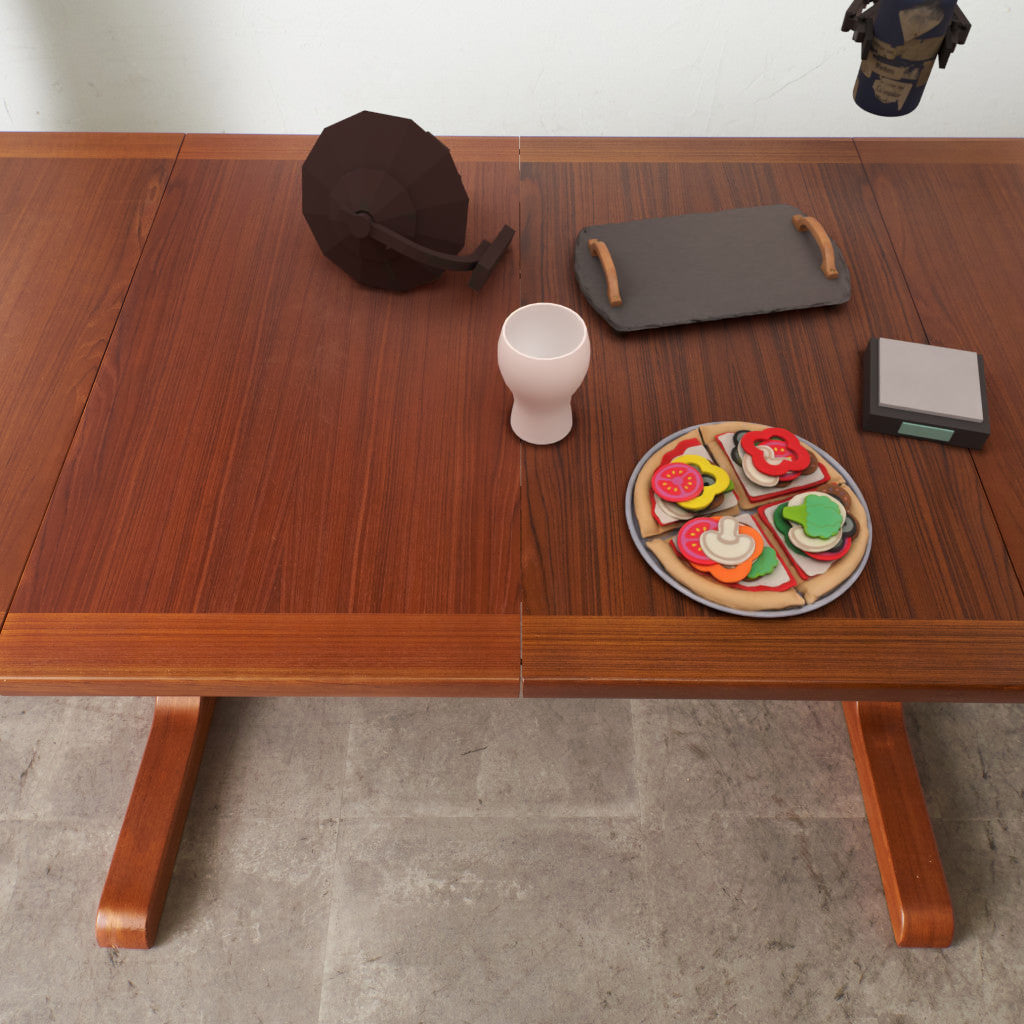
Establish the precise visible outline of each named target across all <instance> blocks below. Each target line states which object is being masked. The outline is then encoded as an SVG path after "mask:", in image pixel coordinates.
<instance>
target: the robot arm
mask: <svg viewBox="0 0 1024 1024" xmlns="http://www.w3.org/2000/svg"><path fill="white" fill-rule="evenodd" d="M880 1H881V0H852V2H851V3H850V5H849V6H848V7H847V9H846V10H845V13H844V17H843V20H842V23H841V27H840V31H841V32H842V33H849V32H850V31H852V32H853V33H852V37H851V40H852V41H854V42H855V43H858V44H860V61H862V60H867V57H868V54H869V51H870V48H871V44H872V41H873V24H874V21H875V17H876V14H877V11H878V8H879V4H880ZM870 3H872V4H873V5H872V6H870V7H868V5H870ZM867 7H868V8H867ZM972 27H973V26H972V23H971V22H970V20H969V19H968V17H967V16H966V15H965V13H964V11H962V9H961V7H960V6H959V5H958V3H957V4H956V7H955V10H954V12H953V15H952V17H951V20H950V23H949V25H948V28H947V31H946V34H945V37H944V39H943V42H942V45H941V48H940V50H939V53H938V55H937V59H938V69H940V70H941V69H942V70H945V69H946V67H947V65H948V62H949V59H950V56H951V54H953V53H954V52H955V50H956V48H957V45H959V46H963V45H965V44H966V42H967V39H968V36H969V34H970V32H971V29H972Z"/></svg>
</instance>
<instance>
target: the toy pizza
mask: <svg viewBox="0 0 1024 1024" xmlns="http://www.w3.org/2000/svg"><path fill="white" fill-rule="evenodd" d="M624 502H625V503H624V508H625V509H624V510H625V520H626V523H627V527H628V531H629V530H630V531H629V533H630V536H631V539H632V540H633V541H632V542H633V543H634V545H635V547H636V548H637V550H638V552H639V554H640V555H641V556H642V558H643V559H644V561H645V562H646V563H647V564H648V565H649V567H651V569H652V570H653V571H654V572H655V573H656V574H657V575H658V576H659V577H660V578H661V579H662V580H664V581H665V582H666V583H667V584H669V585H670V586H671V587H672V588H674V589H675V590H677V591H678V592H680V593H681V594H683V595H684V596H686V597H688V598H690V599H692V600H693V601H695V602H698V603H700V604H702V605H703V606H707V607H709V608H712V609H714V610H718V611H721V612H725V613H728V614H731V615H737V616H743V617H751V618H764V619H765V618H769V619H770V618H771V619H773V618H785V617H793V616H798V615H801V614H805V613H808V612H812V611H814V610H817V609H819V608H821V607H824V606H825V605H828V604H829V603H832V602H833V601H835V600H836V599H838V598H839V597H841V596H842V595H843V594H844V593H845V592H846V591H848V590H849V588H850V587H852V585H853V584H854V583H855V582H856V581H857V579H858V578H859V576H861V574H862V571H863V570H864V569H865V566H866V564H867V562H868V559H869V557H870V554H871V553H870V552H871V549H872V542H873V540H872V539H873V524H872V520H871V519H872V518H871V514H870V511H869V508H868V504H867V502H866V500H865V497H864V496H863V493H862V491H861V490H860V488H859V487H858V485H857V483H856V482H855V481H854V479H853V478H852V477H851V475H850V474H849V472H847V470H846V469H845V468H844V467H843V466H842V465H841V463H839V462H838V461H837V460H836V459H835V458H833V457H832V456H831V455H830V454H829V453H827V452H826V451H824V449H821V448H820V447H818V446H817V445H815V444H814V443H812V442H810V441H808V440H807V439H805V438H803V437H802V436H799V435H797V434H794V433H793V432H791V431H789V430H788V429H784V428H781V427H774V426H769V425H765V424H761V423H757V422H747V421H731V420H730V421H729V420H728V421H713V422H705V423H701V424H697V425H692V426H689V427H686V428H682V429H681V430H678V431H676V432H674V433H672V434H670V435H668V436H665V438H663V439H661V440H660V441H658V442H657V443H656V444H655V445H654V446H652V447H651V448H650V449H649V450H648V451H647V452H645V454H644V455H643V456H642V457H641V459H640V460H639V461H638V463H637V464H636V466H635V467H634V469H633V471H632V473H631V475H630V477H629V480H628V483H627V488H626V491H625V501H624Z"/></svg>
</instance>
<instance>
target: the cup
mask: <svg viewBox="0 0 1024 1024" xmlns="http://www.w3.org/2000/svg"><path fill="white" fill-rule="evenodd" d="M586 325H587V324H586V323H585V321H584V319H583V318H582V317H581V316H580V315H579V313H577V312H576V311H574V310H573V309H571V308H569V307H566V306H564V305H562V304H558V303H552V302H536V303H530V304H529V303H528V304H527V305H524V306H521V307H519V308H517V309H515V310H514V311H513V312H511V313H510V314H509V315H508V317H506V318H505V321H504V322H503V325H502V328H501V329H500V334H499V337H498V341H497V365H498V368H499V371H500V375H501V376H502V379H503V381H504V384H505V385H506V386H507V388H508V389H509V390H510V392H511V393H512V396H513V404H512V409H511V415H510V426H511V429H512V431H513V433H514V434H515V435H516V436H517V437H518V438H520V439H521V440H522V441H524V442H527V443H530V444H533V445H550V444H554V443H557V442H559V441H561V440H563V439H564V438H565V437H567V435H568V434H569V433H570V432H571V430H572V427H573V413H572V412H573V411H572V406H571V401H572V396H573V395H574V394H575V393H576V392H577V390H578V389H579V387H580V386H581V385H582V383H583V381H584V379H585V377H586V375H587V373H588V370H589V366H590V362H591V360H590V359H591V341H590V336H589V331H588V328H587V326H586Z"/></svg>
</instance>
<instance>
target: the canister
mask: <svg viewBox="0 0 1024 1024" xmlns="http://www.w3.org/2000/svg"><path fill="white" fill-rule="evenodd" d="M958 2H959V0H881V1H880V4H879V8H878V11H877V14H876V17H875V21H874V24H873V41H872V44H871V48H870V51H869V54H868V57H867V60H860V61H861V62H860V64H859V68H858V73H857V75H856V79H855V82H854V86H853V89H852V100H853V102H854V103H855V105H856V106H857V107H859V109H861V110H863V111H864V112H866V113H869V114H870V115H874V116H878V117H883V118H898V117H904V116H907V115H909V114H911V113H913V112H914V111H915V110H916V109H917V108H918V107H919V106H920V102H921V100H922V97H923V95H924V92H925V89H926V86H927V84H928V82H929V79H930V77H931V73H932V71H933V68H934V65H935V63H936V61H937V58H938V53H939V50H940V48H941V45H942V42H943V39H944V37H945V34H946V31H947V28H948V25H949V23H950V20H951V17H952V15H953V12H954V10H955V7H956V4H957V5H958Z"/></svg>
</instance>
